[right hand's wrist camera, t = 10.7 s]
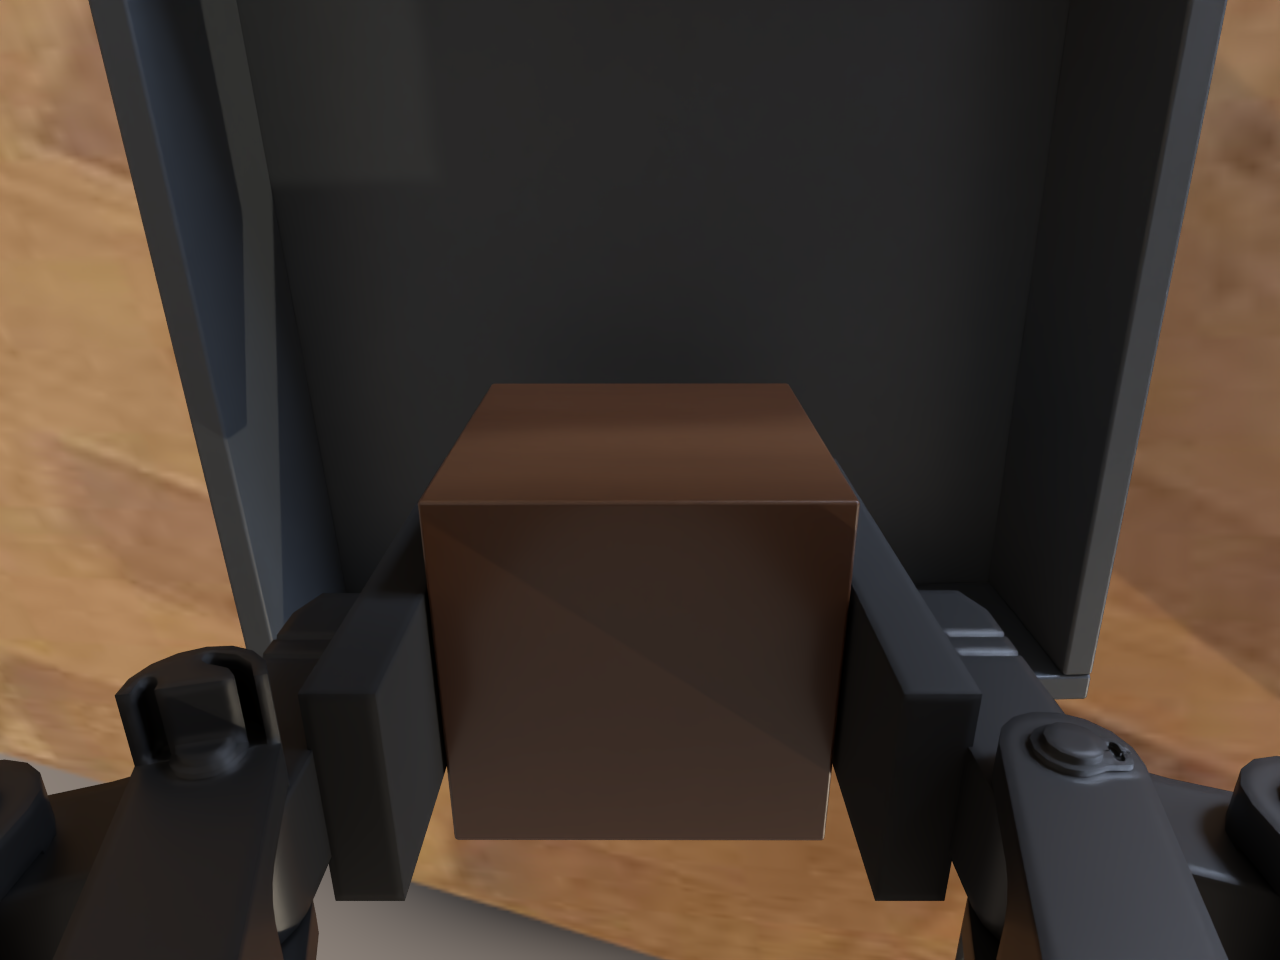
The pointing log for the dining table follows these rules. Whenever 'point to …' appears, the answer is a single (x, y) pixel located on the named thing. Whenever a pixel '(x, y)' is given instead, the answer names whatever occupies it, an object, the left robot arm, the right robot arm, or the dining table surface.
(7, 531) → the dining table surface
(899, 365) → the grey tray
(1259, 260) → the dining table surface
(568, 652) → the walnut cube
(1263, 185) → the dining table surface
